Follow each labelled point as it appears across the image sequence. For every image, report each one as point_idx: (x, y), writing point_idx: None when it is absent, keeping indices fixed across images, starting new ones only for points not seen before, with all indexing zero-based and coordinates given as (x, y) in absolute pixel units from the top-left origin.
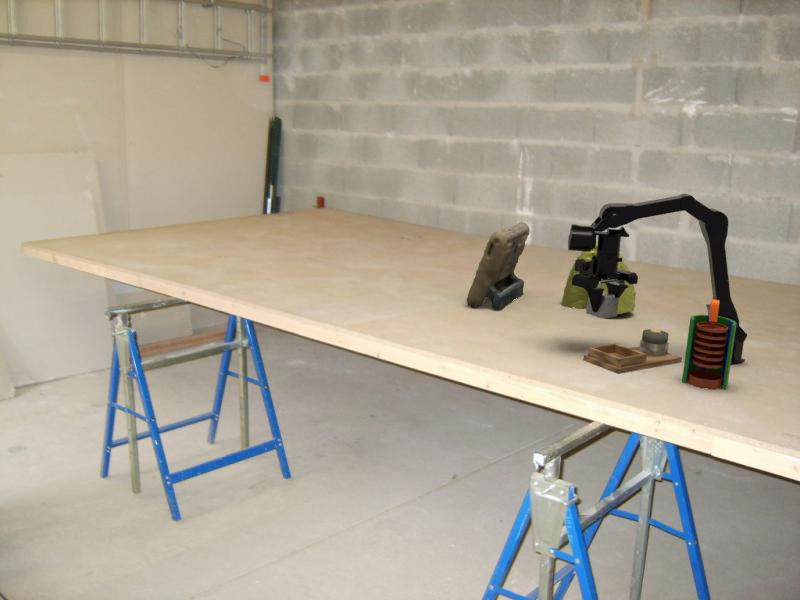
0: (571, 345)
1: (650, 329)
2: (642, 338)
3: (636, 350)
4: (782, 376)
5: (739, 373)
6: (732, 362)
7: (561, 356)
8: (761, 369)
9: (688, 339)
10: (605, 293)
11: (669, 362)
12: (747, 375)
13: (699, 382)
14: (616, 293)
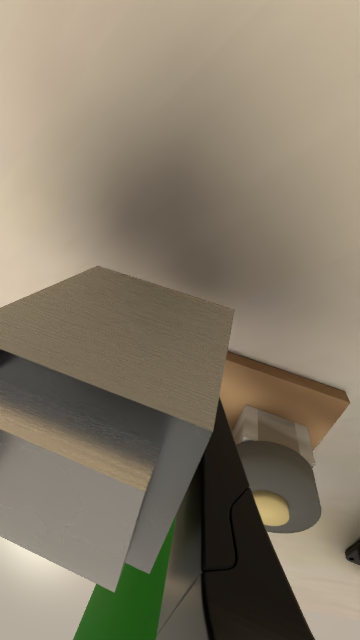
0: (175, 170)
1: (306, 487)
2: (238, 448)
3: (251, 395)
4: (329, 605)
5: (286, 557)
6: (353, 562)
7: (42, 234)
8: (357, 590)
9: (87, 606)
10: (64, 528)
11: None
12: (283, 565)
13: None
14: (162, 616)
